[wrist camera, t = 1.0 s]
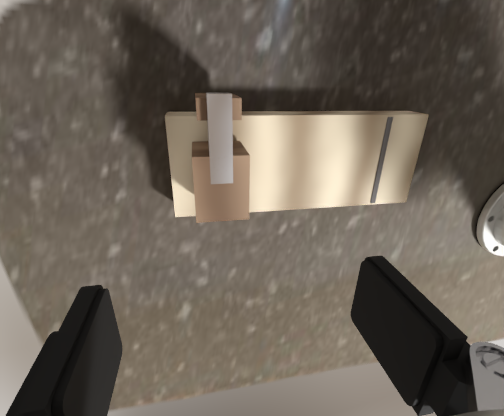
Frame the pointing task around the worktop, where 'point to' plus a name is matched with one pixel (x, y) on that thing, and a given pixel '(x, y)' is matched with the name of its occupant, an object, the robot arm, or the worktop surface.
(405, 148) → the birch board
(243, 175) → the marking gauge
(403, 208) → the worktop surface
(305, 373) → the worktop surface
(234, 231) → the worktop surface
